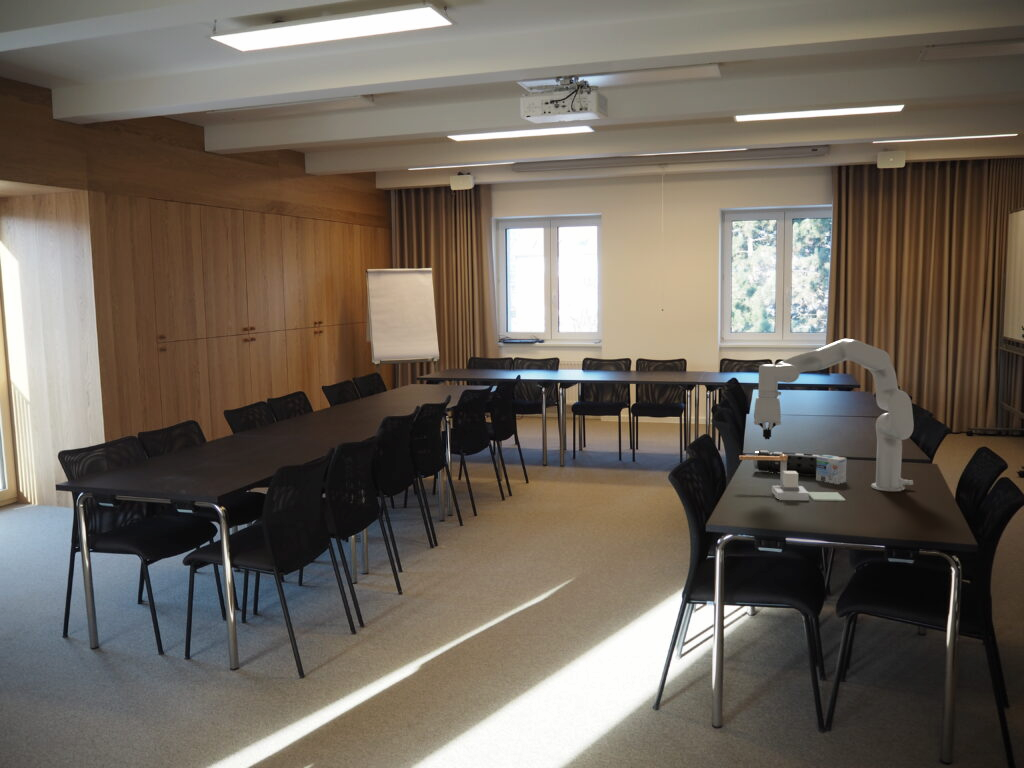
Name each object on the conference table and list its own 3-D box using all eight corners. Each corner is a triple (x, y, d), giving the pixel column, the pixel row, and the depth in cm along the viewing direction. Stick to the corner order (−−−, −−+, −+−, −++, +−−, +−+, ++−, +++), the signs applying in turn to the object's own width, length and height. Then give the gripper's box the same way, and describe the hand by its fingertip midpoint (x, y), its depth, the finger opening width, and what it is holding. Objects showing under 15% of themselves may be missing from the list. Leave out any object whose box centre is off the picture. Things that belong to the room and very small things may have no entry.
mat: (837, 493, 346) (837, 492, 346) (845, 501, 335) (845, 499, 335) (807, 493, 348) (807, 491, 348) (813, 500, 336) (813, 499, 336)
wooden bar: (787, 459, 357) (787, 454, 356) (788, 461, 354) (788, 456, 353) (739, 458, 360) (739, 454, 359) (739, 460, 357) (739, 455, 356)
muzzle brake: (818, 479, 373) (818, 456, 372) (752, 473, 386) (753, 451, 384) (820, 475, 382) (821, 452, 380) (757, 469, 394) (757, 447, 393)
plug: (795, 495, 345) (796, 470, 344) (798, 498, 340) (799, 473, 339) (781, 494, 346) (781, 470, 345) (783, 498, 340) (784, 473, 339)
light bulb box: (815, 480, 371) (816, 456, 370) (823, 478, 375) (824, 454, 374) (838, 484, 363) (839, 459, 361) (846, 482, 367) (847, 457, 366)
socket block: (796, 487, 358) (797, 459, 356) (808, 500, 336) (809, 470, 335) (767, 487, 359) (768, 459, 358) (777, 499, 338) (778, 470, 336)
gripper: (785, 393, 350) (784, 437, 352) (747, 393, 352) (747, 437, 354) (788, 395, 343) (787, 440, 345) (750, 395, 345) (749, 440, 347)
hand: (766, 438), depth 350 cm, fingers closed
